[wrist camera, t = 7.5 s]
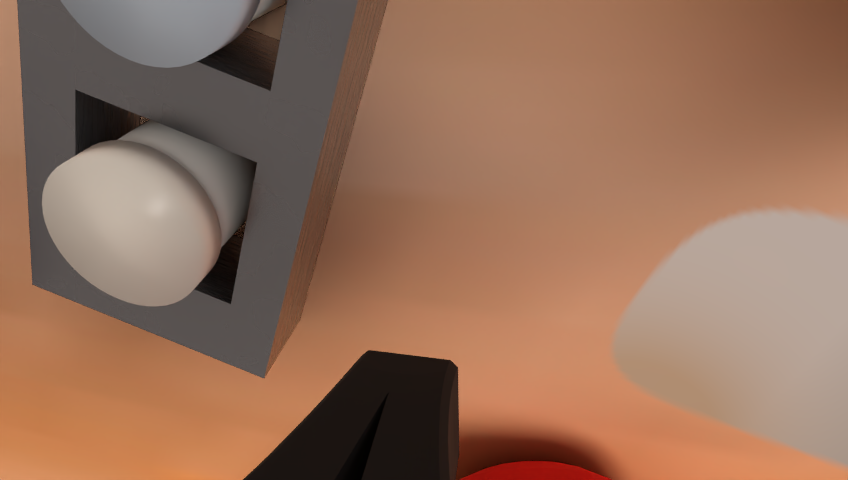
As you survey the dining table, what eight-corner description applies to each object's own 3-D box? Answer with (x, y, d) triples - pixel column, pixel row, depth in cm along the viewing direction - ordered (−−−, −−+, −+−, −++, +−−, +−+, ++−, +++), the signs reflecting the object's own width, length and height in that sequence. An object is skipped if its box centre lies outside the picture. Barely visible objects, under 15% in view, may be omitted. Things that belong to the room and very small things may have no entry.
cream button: (287, 127, 19) (212, 198, 15) (263, 243, 21) (193, 329, 17) (148, 71, 19) (39, 129, 15) (140, 194, 21) (44, 268, 18)
